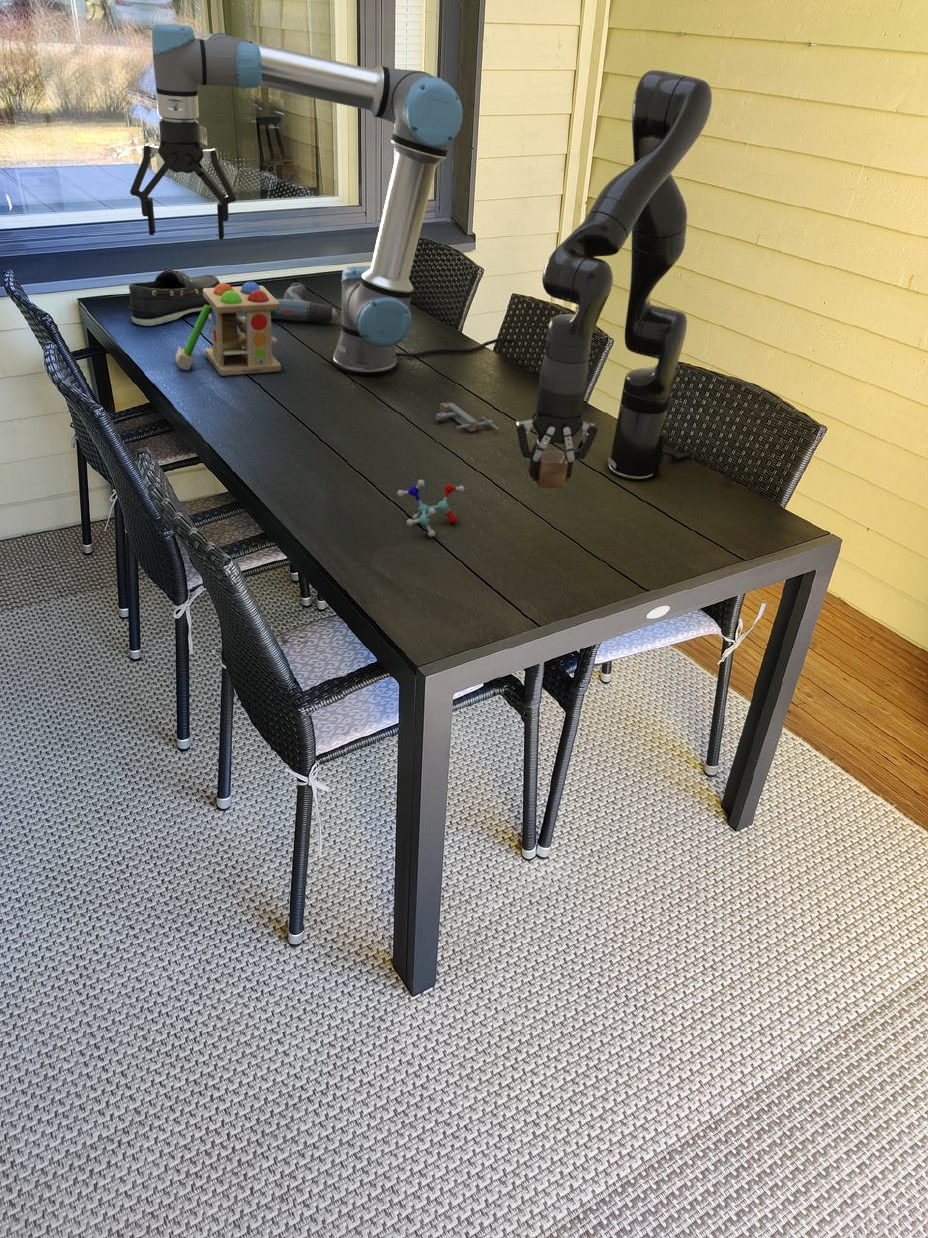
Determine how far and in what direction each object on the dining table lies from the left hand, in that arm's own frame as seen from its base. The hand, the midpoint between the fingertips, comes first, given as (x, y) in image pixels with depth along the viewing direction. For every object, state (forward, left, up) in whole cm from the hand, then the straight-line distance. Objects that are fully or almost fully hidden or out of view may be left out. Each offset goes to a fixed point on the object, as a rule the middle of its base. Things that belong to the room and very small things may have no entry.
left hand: (187, 235), depth 198 cm
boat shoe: (-24, -51, -33) cm, 66 cm away
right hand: (-15, +90, -21) cm, 94 cm away
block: (-15, +90, -21) cm, 94 cm away
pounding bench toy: (-13, -10, -33) cm, 37 cm away
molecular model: (-2, +75, -33) cm, 82 cm away
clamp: (-38, +46, -33) cm, 68 cm away
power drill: (-52, -34, -33) cm, 70 cm away
